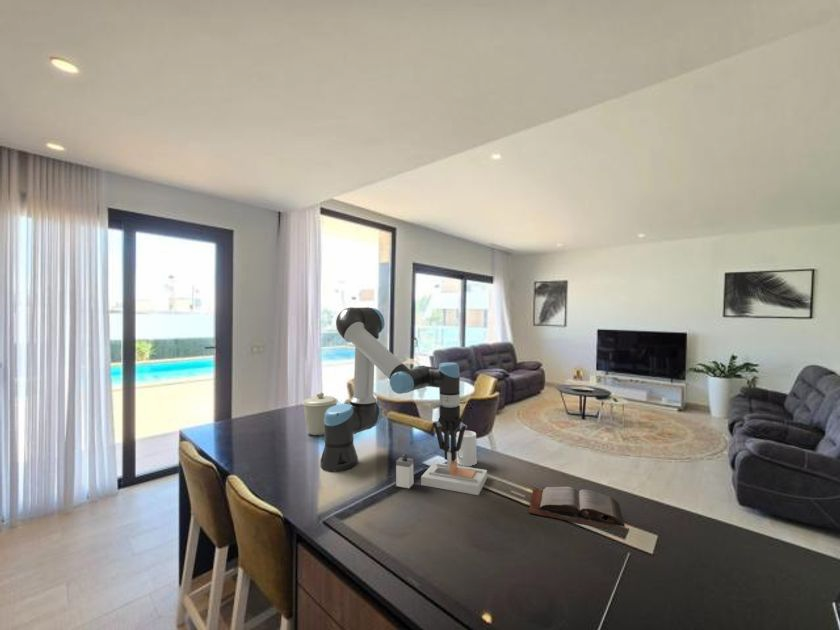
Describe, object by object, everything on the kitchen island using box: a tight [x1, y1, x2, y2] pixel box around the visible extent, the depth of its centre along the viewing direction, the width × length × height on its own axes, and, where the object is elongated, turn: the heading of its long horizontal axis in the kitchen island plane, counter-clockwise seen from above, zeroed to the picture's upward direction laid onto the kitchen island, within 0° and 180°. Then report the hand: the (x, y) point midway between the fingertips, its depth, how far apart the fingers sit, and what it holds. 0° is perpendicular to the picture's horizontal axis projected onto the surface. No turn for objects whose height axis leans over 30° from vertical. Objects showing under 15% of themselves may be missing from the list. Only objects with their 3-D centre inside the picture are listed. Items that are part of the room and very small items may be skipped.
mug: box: [456, 430, 478, 467], centre depth 152 cm, size 12×8×12 cm
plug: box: [395, 453, 414, 489], centre depth 133 cm, size 5×4×11 cm
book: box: [528, 486, 625, 532], centre depth 117 cm, size 20×28×4 cm
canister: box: [301, 391, 339, 436], centre depth 193 cm, size 18×18×21 cm
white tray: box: [420, 461, 488, 496], centre depth 136 cm, size 21×14×4 cm, turn 68°
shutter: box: [450, 458, 476, 479], centre depth 135 cm, size 8×7×4 cm
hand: (450, 468), depth 136 cm, fingers closed
